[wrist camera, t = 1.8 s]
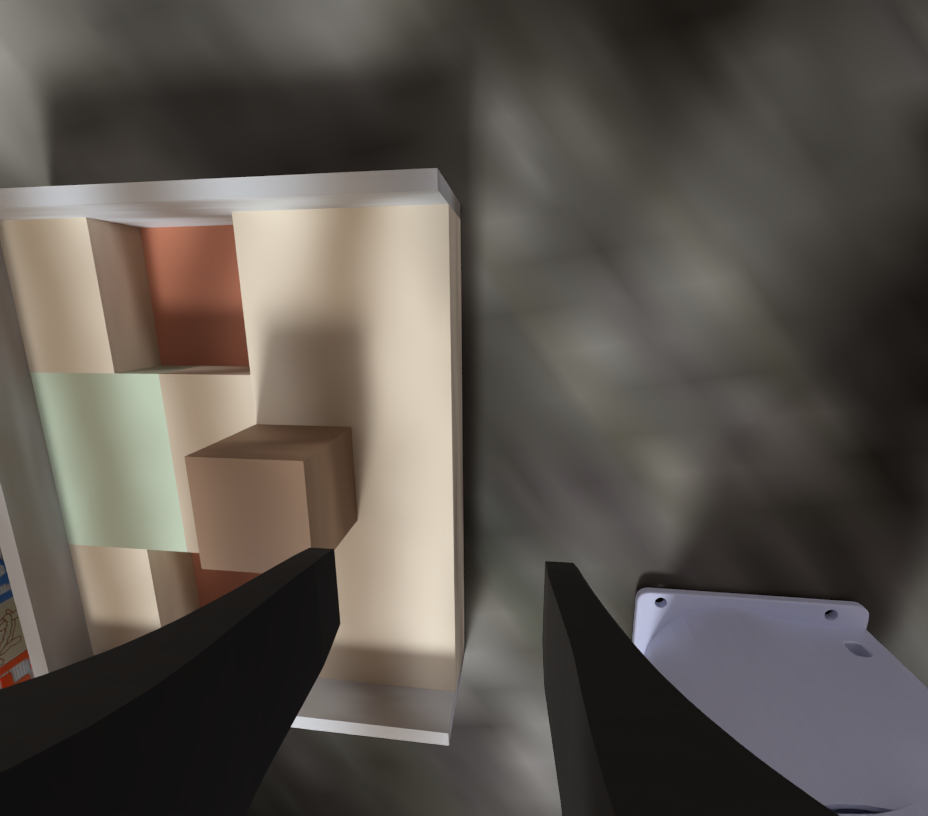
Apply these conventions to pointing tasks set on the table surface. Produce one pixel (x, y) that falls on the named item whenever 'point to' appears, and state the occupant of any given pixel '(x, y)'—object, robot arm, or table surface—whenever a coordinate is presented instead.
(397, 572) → the board
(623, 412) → the table surface
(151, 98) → the table surface
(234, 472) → the walnut block
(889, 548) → the table surface
